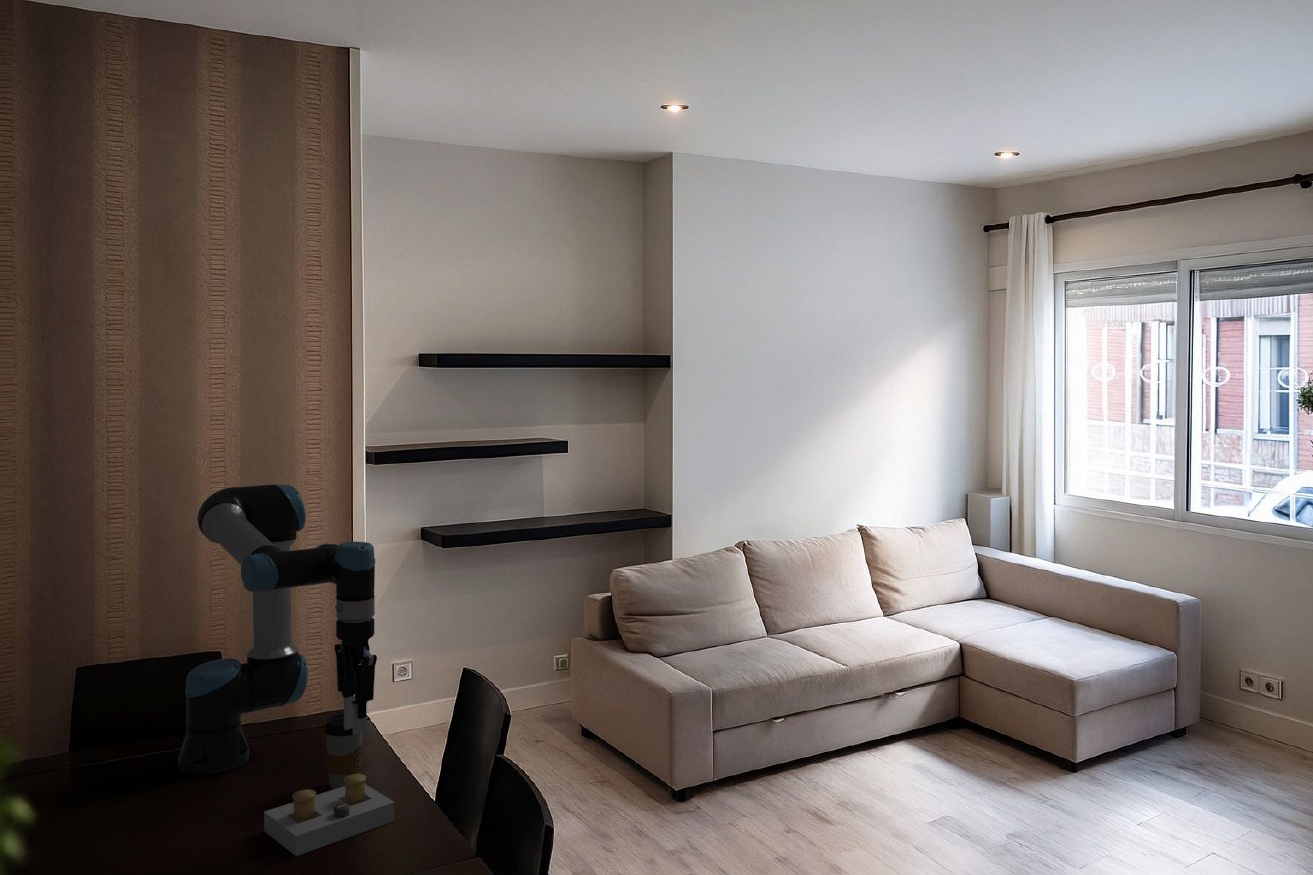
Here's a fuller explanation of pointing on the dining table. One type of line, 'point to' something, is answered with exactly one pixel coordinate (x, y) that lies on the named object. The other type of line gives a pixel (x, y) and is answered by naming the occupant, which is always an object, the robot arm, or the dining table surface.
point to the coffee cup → (341, 751)
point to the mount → (328, 820)
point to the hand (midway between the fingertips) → (355, 729)
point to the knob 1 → (304, 803)
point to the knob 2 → (355, 787)
